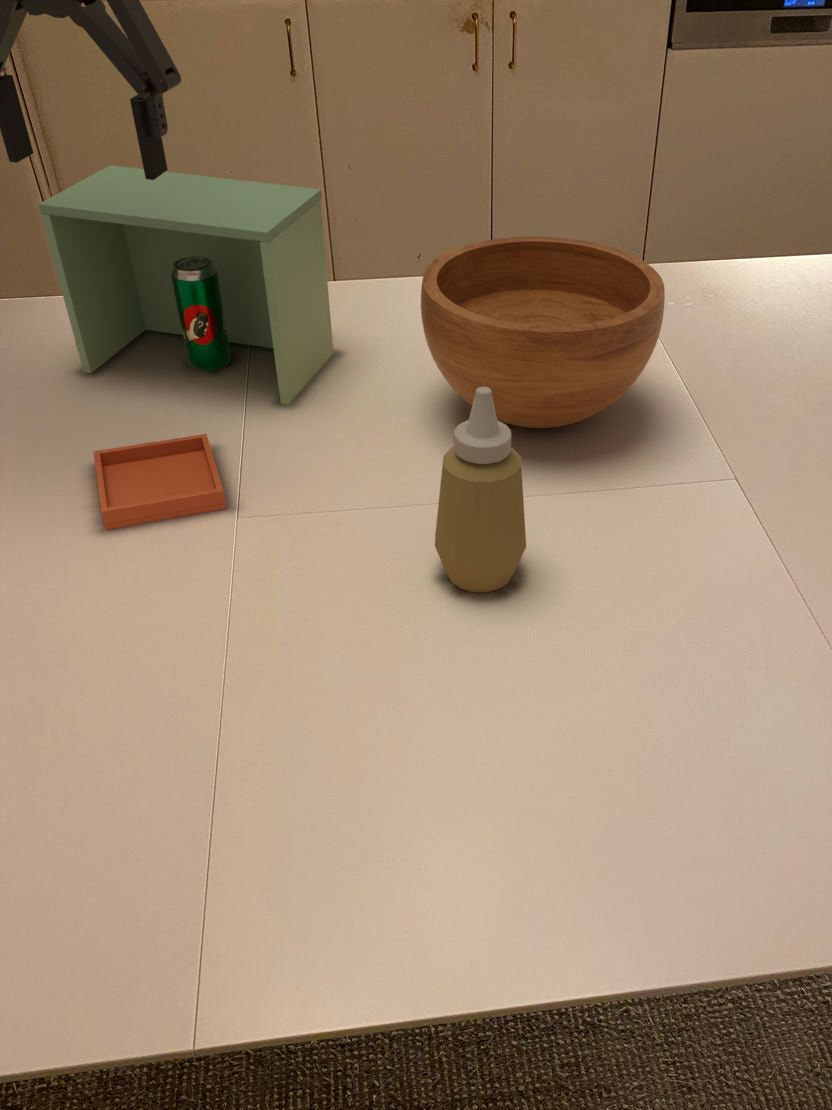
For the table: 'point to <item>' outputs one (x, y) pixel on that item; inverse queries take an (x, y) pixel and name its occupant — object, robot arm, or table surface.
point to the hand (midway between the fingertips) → (88, 166)
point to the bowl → (541, 325)
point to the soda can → (201, 313)
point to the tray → (157, 481)
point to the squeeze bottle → (481, 502)
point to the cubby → (187, 231)
